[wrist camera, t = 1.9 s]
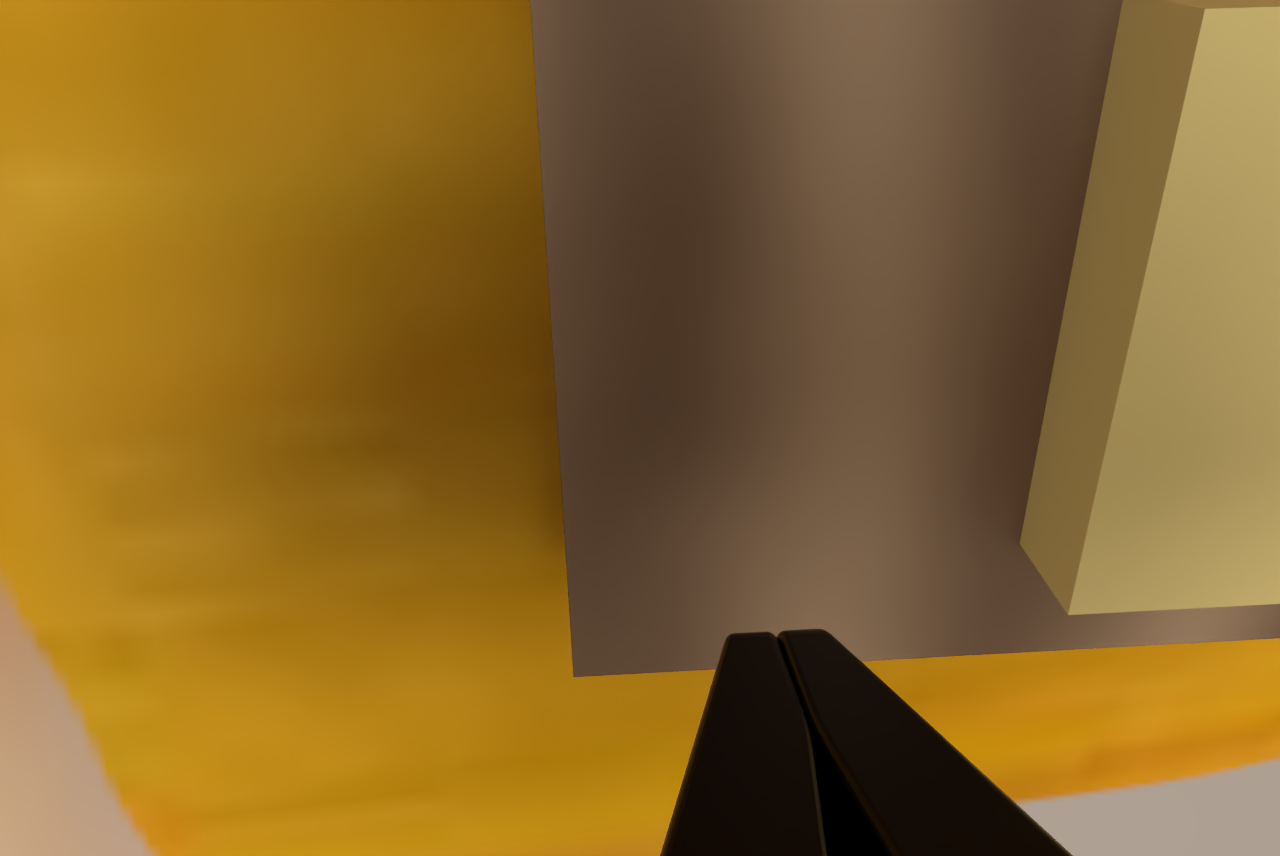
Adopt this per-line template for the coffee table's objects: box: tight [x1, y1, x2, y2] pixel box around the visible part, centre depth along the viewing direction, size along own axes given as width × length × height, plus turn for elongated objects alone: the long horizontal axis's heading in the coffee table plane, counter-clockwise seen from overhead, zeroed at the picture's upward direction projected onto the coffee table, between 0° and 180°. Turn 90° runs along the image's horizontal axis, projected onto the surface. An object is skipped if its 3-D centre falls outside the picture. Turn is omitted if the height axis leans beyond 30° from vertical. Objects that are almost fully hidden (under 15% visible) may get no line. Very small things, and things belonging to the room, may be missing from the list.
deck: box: [530, 0, 1280, 677], centre depth 18 cm, size 16×14×4 cm
